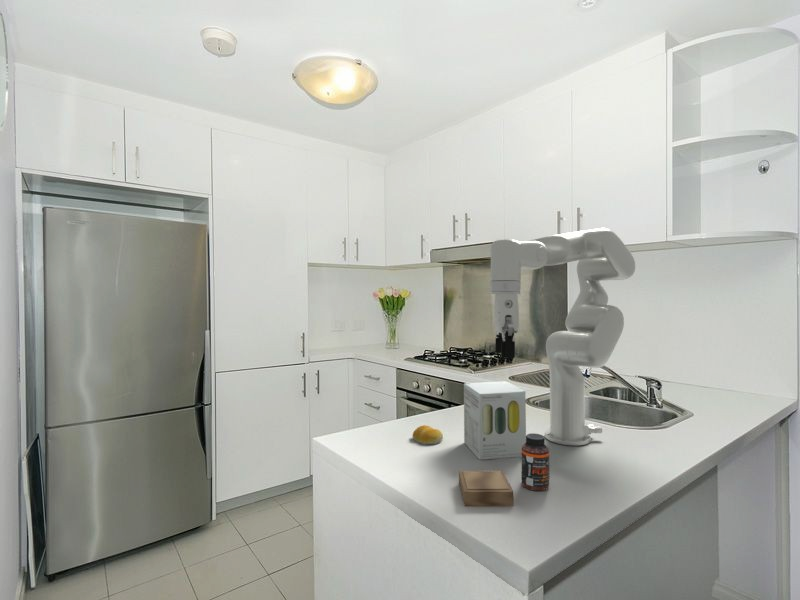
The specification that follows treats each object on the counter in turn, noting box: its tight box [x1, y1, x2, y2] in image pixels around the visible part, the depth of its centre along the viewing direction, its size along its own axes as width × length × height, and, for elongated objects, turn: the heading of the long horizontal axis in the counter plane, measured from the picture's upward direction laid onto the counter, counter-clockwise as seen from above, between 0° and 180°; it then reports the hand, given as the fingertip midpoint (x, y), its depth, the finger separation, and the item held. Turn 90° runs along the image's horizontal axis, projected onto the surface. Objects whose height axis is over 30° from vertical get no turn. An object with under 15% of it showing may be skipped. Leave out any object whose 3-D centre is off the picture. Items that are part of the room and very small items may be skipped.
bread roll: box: [412, 424, 444, 445], centre depth 127 cm, size 8×9×4 cm
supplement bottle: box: [520, 432, 550, 492], centre depth 96 cm, size 6×6×11 cm
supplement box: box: [463, 380, 527, 461], centre depth 118 cm, size 13×13×18 cm
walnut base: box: [458, 470, 515, 507], centre depth 93 cm, size 10×10×3 cm
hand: (504, 355), depth 110 cm, fingers open, 9 cm apart
